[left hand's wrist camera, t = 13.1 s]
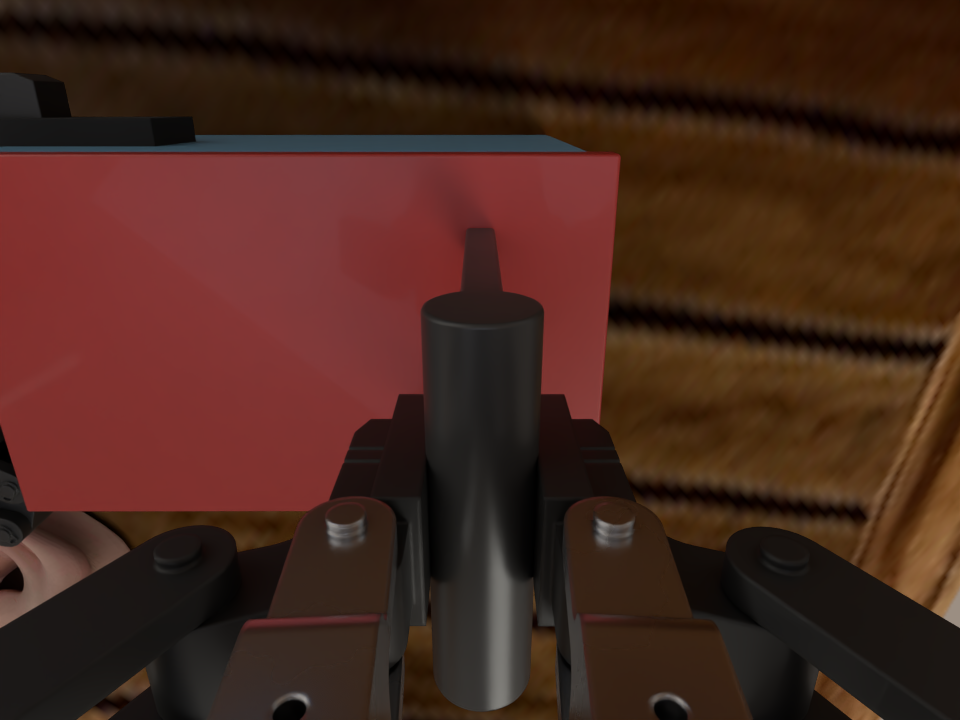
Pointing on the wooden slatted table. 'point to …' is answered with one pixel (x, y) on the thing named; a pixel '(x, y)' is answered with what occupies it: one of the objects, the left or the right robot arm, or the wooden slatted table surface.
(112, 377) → the lid
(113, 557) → the anatomical model
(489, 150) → the chest
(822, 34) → the wooden slatted table surface
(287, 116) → the wooden slatted table surface
